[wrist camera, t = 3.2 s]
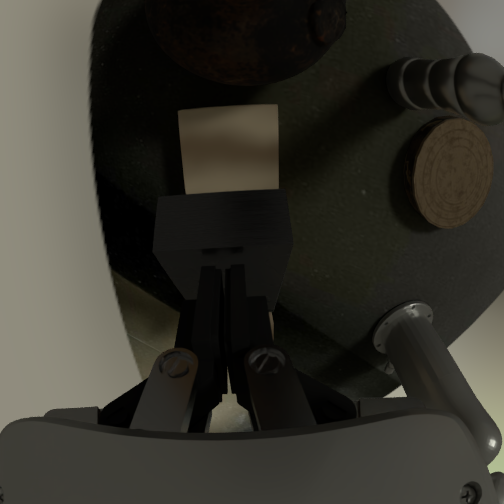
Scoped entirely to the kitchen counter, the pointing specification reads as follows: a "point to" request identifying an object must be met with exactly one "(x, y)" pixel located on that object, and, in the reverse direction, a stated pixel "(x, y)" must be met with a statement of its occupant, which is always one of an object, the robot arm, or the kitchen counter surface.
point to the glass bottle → (246, 36)
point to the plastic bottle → (450, 86)
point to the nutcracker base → (230, 149)
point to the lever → (225, 238)
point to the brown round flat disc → (448, 171)
